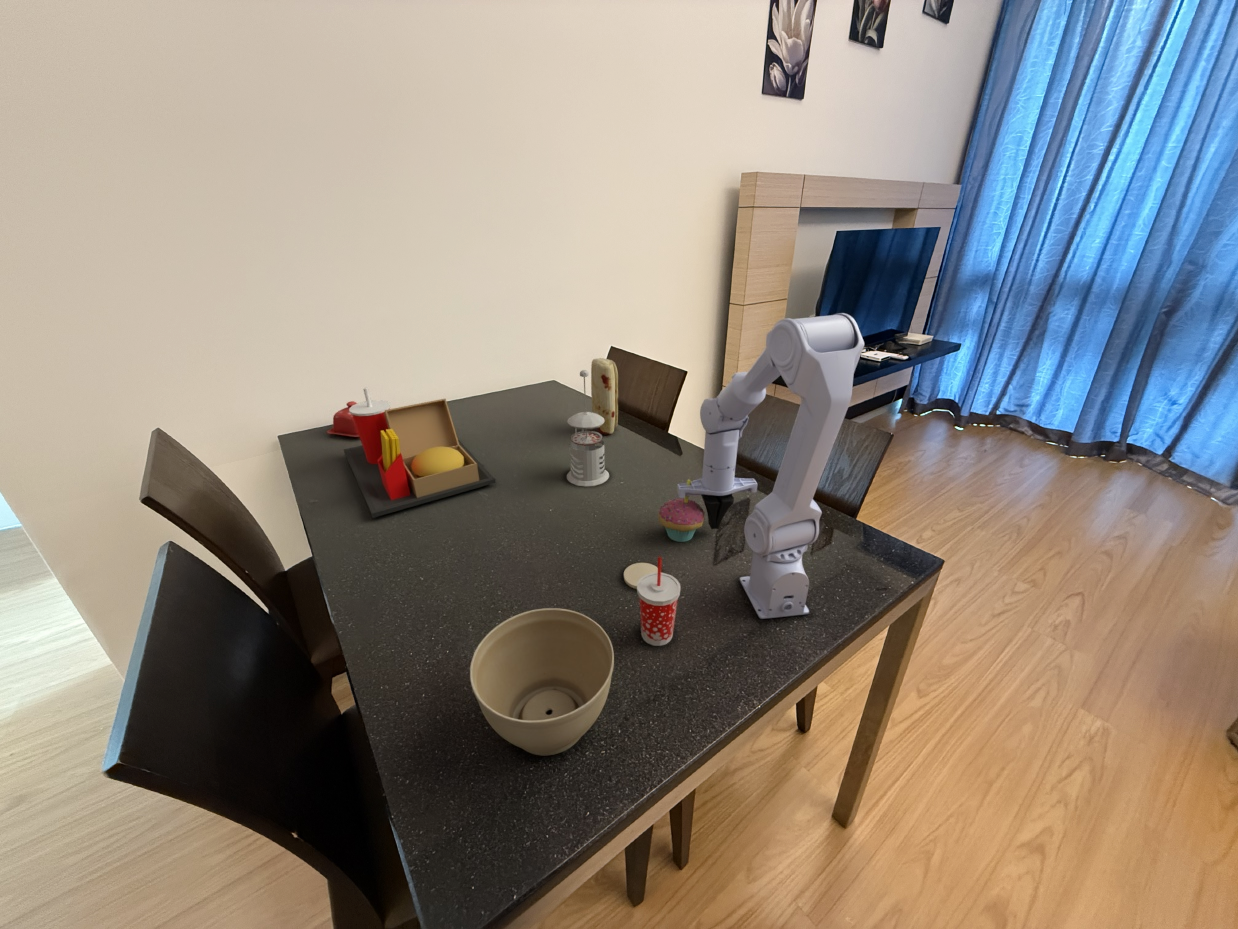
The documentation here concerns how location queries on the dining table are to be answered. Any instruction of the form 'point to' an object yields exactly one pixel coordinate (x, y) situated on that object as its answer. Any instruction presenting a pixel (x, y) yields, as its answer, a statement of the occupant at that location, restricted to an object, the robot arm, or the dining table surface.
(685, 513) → the cupcake
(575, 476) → the french press
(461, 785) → the dining table surface
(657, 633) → the beverage cup
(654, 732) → the dining table surface
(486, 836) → the dining table surface
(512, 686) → the planter bowl
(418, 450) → the fast food meal
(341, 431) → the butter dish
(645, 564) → the coaster
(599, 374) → the food model
